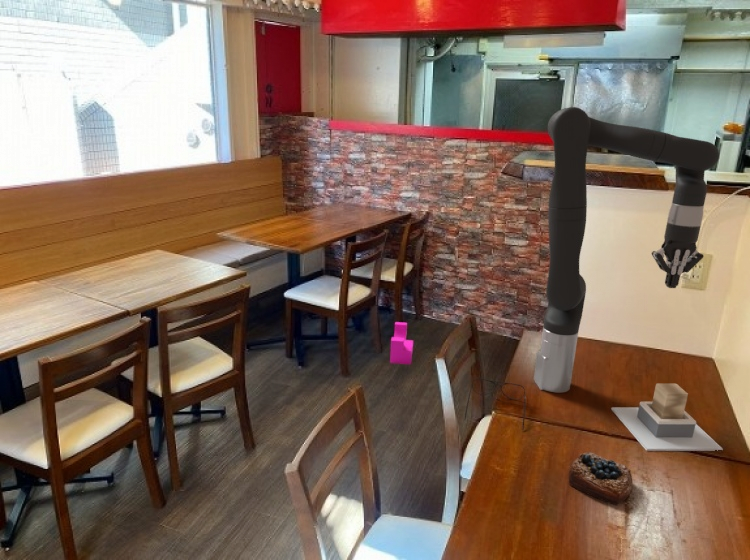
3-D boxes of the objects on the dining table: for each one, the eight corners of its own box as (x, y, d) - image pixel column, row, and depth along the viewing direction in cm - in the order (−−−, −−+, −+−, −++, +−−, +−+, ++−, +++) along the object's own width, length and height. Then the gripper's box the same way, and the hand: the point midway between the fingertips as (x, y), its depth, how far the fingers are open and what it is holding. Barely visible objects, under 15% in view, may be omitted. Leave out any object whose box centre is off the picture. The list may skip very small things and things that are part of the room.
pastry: (579, 460, 122) (582, 438, 120) (636, 483, 115) (641, 459, 113) (562, 486, 113) (566, 462, 112) (622, 512, 107) (628, 487, 105)
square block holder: (646, 450, 126) (650, 432, 124) (611, 409, 143) (614, 392, 141) (722, 450, 126) (727, 432, 125) (678, 409, 144) (682, 392, 142)
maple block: (661, 419, 131) (667, 393, 129) (651, 408, 136) (656, 383, 133) (682, 419, 131) (688, 393, 129) (670, 408, 136) (676, 383, 134)
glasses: (524, 401, 146) (526, 385, 144) (522, 436, 133) (524, 419, 131) (470, 392, 149) (471, 377, 147) (463, 425, 136) (465, 409, 134)
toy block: (410, 364, 165) (411, 342, 162) (390, 363, 165) (391, 340, 163) (413, 344, 179) (414, 323, 177) (394, 343, 180) (395, 321, 177)
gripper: (666, 224, 133) (653, 291, 139) (719, 225, 134) (704, 292, 139) (650, 218, 141) (638, 282, 146) (700, 219, 141) (687, 283, 146)
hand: (670, 287), depth 143 cm, fingers closed
